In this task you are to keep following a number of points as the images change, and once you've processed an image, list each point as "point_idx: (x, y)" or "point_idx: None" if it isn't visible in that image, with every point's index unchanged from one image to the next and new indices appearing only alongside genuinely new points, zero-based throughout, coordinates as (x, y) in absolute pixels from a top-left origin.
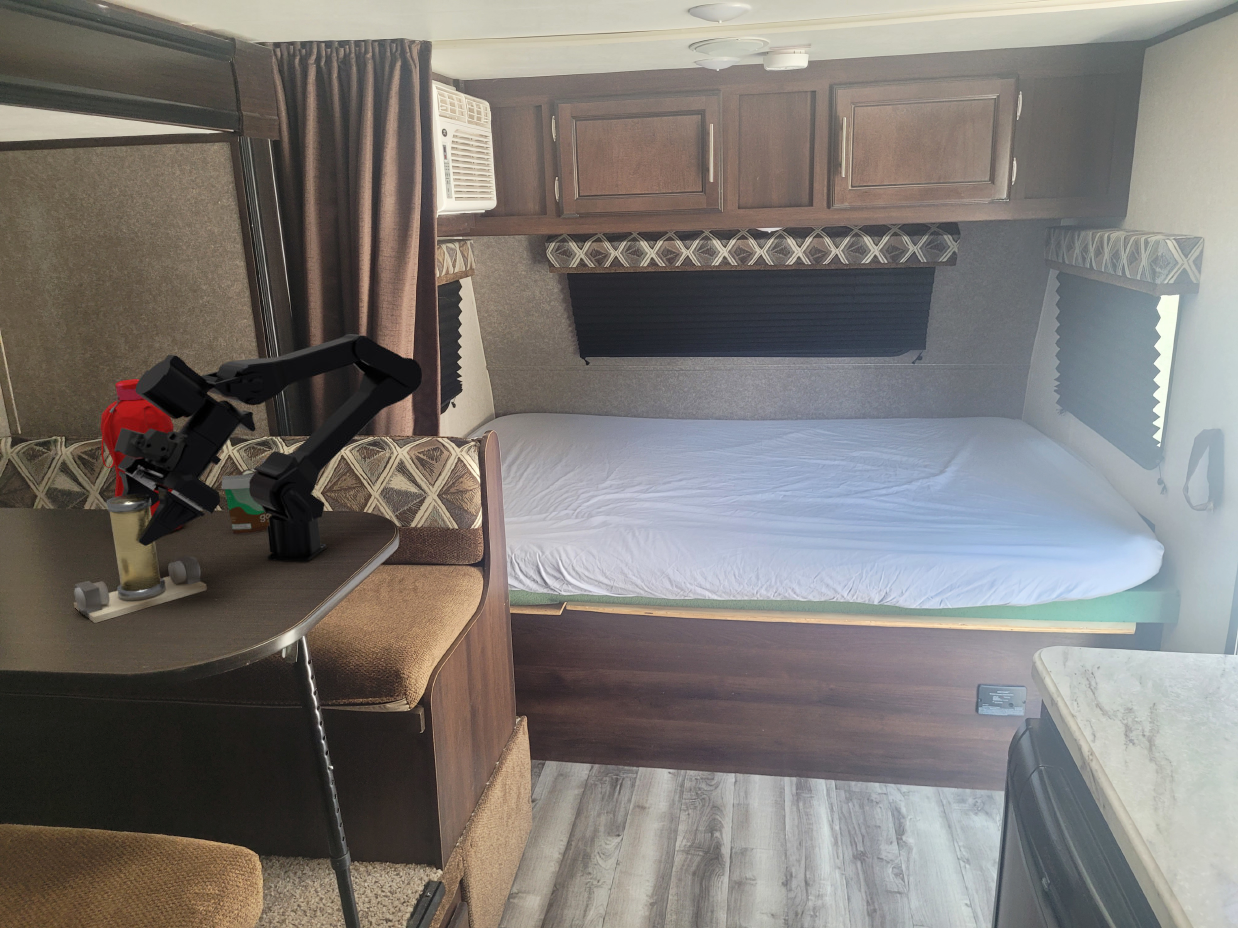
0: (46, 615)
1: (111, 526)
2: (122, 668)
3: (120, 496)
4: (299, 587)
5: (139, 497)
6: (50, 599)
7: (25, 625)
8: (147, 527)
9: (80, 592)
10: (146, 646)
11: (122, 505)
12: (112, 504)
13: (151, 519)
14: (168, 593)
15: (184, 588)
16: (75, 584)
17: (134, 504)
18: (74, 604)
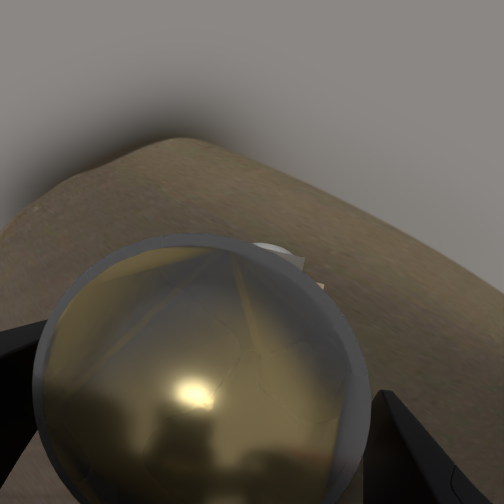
0: (334, 246)
1: (382, 390)
2: (55, 193)
3: (348, 432)
4: (27, 500)
5: (143, 480)
6: (406, 293)
7: (320, 208)
8: (38, 326)
9: (253, 243)
10: (63, 242)
11: (94, 269)
12: (168, 238)
13: (13, 342)
14: None
15: None
16: (301, 258)
17: (48, 331)
18: (320, 284)
